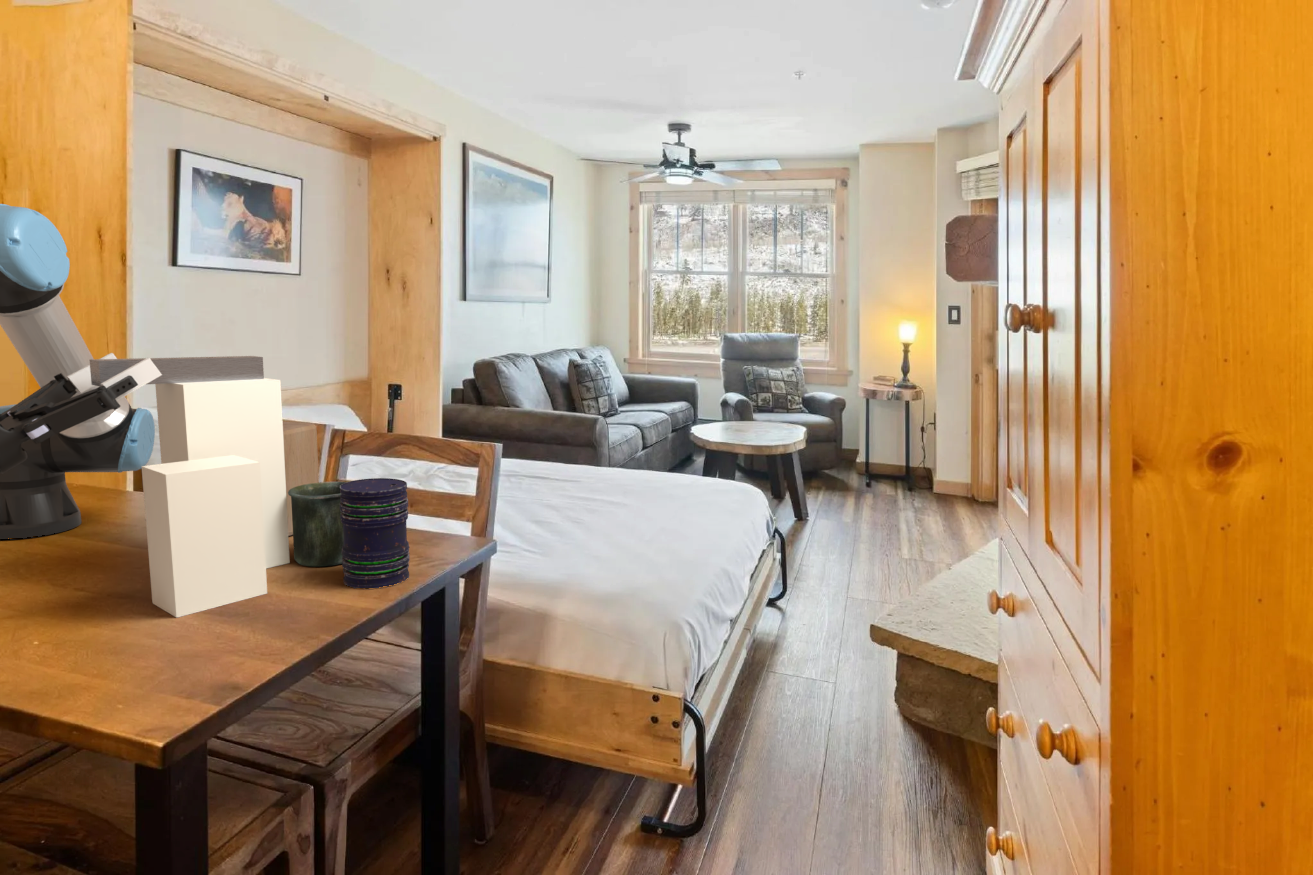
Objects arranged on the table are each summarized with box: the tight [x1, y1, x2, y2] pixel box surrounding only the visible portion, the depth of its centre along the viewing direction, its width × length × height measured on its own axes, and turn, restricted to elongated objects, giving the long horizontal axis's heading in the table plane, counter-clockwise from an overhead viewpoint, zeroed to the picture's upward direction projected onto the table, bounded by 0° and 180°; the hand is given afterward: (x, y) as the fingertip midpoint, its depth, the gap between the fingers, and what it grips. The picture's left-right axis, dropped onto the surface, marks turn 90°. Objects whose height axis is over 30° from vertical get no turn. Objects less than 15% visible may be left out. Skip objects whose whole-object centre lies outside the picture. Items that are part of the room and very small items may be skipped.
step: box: [141, 455, 268, 619], centre depth 107 cm, size 8×12×20 cm, turn 143°
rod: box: [89, 355, 265, 386], centre depth 113 cm, size 4×22×4 cm, turn 143°
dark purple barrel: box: [340, 477, 411, 589], centre depth 117 cm, size 10×10×15 cm
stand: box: [154, 377, 291, 569], centre depth 119 cm, size 10×14×30 cm
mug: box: [288, 481, 347, 568], centre depth 128 cm, size 11×15×12 cm
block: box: [282, 420, 320, 537], centre depth 142 cm, size 10×10×20 cm
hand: (136, 363), depth 108 cm, fingers open, 13 cm apart
